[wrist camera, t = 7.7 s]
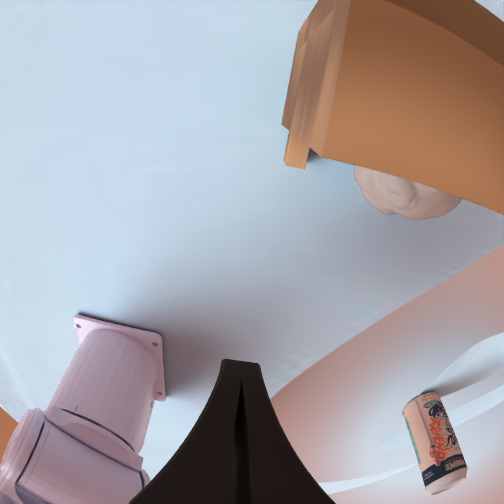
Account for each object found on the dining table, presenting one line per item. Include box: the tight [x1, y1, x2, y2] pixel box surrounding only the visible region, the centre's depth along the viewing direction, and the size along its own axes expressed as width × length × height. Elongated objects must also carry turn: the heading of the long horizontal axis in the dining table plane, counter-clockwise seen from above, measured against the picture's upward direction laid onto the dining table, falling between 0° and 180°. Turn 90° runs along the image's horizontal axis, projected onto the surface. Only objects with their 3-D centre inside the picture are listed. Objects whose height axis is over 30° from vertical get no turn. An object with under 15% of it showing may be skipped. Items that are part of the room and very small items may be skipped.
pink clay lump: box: [354, 166, 462, 220], centre depth 12 cm, size 6×7×7 cm
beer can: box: [402, 392, 467, 495], centre depth 22 cm, size 5×5×12 cm
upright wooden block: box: [282, 0, 504, 215], centre depth 10 cm, size 8×12×10 cm, turn 81°
